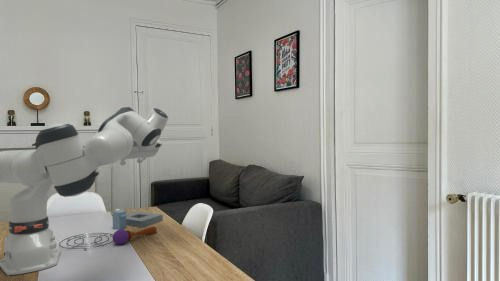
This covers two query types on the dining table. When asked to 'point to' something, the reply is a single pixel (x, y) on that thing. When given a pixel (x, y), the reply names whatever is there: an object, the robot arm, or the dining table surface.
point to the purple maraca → (130, 234)
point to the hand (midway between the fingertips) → (130, 163)
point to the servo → (119, 219)
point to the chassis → (142, 219)
